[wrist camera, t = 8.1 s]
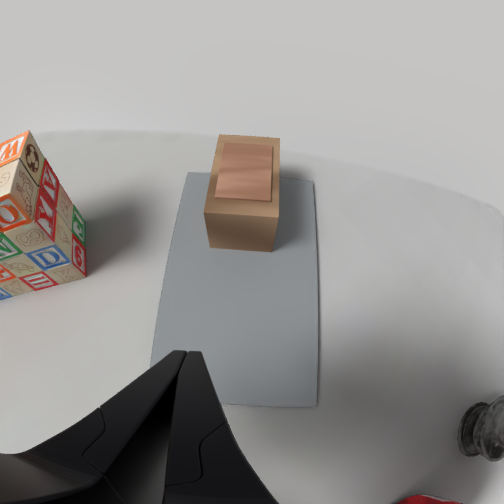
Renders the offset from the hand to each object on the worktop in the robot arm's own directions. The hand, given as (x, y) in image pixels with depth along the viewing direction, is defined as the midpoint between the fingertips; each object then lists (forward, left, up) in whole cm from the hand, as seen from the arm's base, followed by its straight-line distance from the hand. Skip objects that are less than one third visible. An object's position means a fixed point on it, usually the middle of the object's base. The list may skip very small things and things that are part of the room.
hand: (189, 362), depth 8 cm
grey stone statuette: (-10, -21, -13) cm, 27 cm away
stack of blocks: (+11, +22, -13) cm, 28 cm away
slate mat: (+8, -3, -13) cm, 16 cm away
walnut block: (+10, -3, -10) cm, 15 cm away
